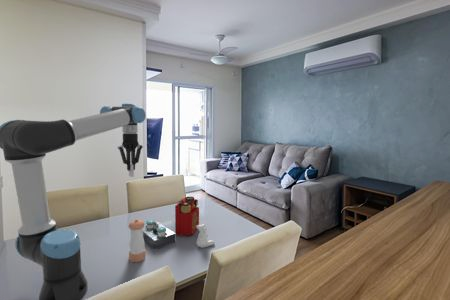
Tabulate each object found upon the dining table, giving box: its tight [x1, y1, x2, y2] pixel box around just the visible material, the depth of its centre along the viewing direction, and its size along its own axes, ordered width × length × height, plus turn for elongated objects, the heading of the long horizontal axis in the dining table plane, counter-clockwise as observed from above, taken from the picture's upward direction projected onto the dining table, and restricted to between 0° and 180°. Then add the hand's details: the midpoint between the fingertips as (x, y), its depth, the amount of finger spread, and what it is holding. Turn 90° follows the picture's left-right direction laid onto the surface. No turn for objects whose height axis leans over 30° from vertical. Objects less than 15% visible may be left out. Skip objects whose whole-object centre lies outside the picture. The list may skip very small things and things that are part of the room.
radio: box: [174, 195, 200, 237], centre depth 144 cm, size 16×10×20 cm, turn 168°
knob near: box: [157, 226, 167, 237], centre depth 129 cm, size 5×5×7 cm
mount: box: [143, 221, 176, 251], centre depth 134 cm, size 12×20×5 cm, turn 44°
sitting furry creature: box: [196, 223, 216, 249], centre depth 128 cm, size 10×9×12 cm
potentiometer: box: [153, 220, 159, 231], centre depth 133 cm, size 3×3×5 cm
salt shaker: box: [128, 218, 146, 263], centre depth 114 cm, size 7×7×19 cm
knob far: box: [145, 219, 156, 229], centre depth 138 cm, size 5×5×7 cm
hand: (131, 176), depth 132 cm, fingers closed
